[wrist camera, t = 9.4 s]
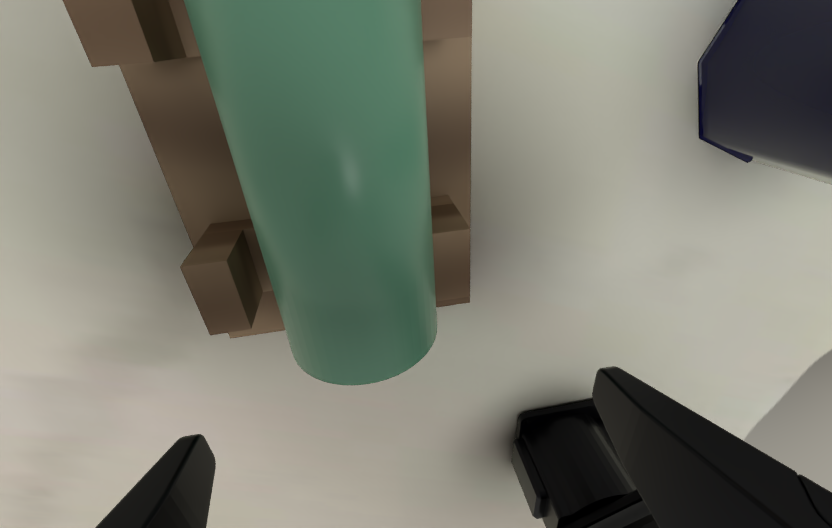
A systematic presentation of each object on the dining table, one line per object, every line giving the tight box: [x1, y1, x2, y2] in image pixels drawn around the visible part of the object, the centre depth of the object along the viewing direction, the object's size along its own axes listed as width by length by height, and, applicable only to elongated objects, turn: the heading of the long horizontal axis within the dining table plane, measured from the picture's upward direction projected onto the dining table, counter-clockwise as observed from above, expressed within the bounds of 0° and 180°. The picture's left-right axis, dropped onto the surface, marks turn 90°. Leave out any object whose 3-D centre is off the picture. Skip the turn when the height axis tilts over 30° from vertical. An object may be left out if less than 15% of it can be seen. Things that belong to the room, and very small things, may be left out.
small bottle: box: [184, 0, 437, 385], centre depth 11 cm, size 16×6×6 cm, turn 4°
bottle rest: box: [63, 0, 472, 338], centre depth 14 cm, size 18×12×4 cm, turn 4°
